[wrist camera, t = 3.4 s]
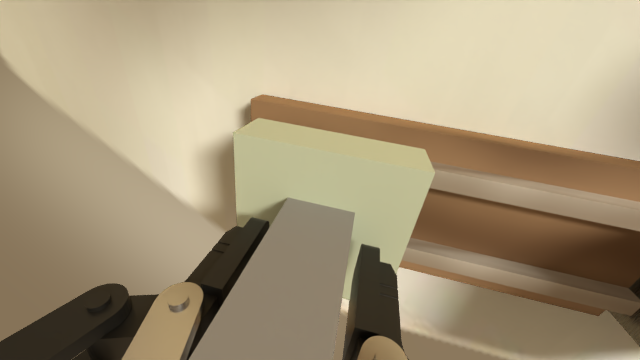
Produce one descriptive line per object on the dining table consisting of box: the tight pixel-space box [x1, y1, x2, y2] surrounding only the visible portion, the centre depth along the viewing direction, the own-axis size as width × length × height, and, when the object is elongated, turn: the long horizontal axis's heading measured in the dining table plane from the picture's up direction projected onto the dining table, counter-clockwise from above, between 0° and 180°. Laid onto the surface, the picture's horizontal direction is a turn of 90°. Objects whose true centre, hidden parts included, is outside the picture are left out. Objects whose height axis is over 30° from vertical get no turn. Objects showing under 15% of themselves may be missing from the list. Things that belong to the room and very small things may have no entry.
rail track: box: [251, 95, 640, 316], centre depth 15 cm, size 9×22×2 cm, turn 82°
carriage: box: [189, 118, 435, 360], centre depth 10 cm, size 8×8×10 cm
